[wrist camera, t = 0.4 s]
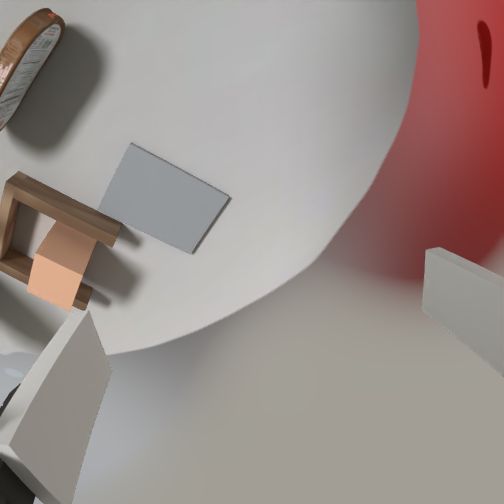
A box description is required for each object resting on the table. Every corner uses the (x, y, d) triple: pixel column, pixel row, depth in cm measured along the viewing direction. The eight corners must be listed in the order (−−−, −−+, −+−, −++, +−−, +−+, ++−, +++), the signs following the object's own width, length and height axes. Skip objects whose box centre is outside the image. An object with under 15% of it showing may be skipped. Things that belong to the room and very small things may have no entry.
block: (58, 218, 34) (35, 252, 28) (98, 238, 37) (82, 275, 30) (47, 253, 37) (26, 291, 30) (84, 271, 39) (69, 311, 33)
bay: (18, 171, 30) (5, 181, 27) (122, 223, 37) (117, 237, 34) (0, 250, 34) (-10, 264, 32) (89, 294, 41) (84, 311, 38)
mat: (131, 142, 32) (130, 143, 31) (228, 195, 37) (229, 197, 37) (98, 207, 35) (97, 209, 34) (190, 251, 41) (190, 254, 40)
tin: (60, 12, 21) (27, 0, 14) (79, 23, 23) (48, 14, 16) (-7, 121, 26) (-46, 139, 19) (9, 133, 27) (-28, 154, 20)
